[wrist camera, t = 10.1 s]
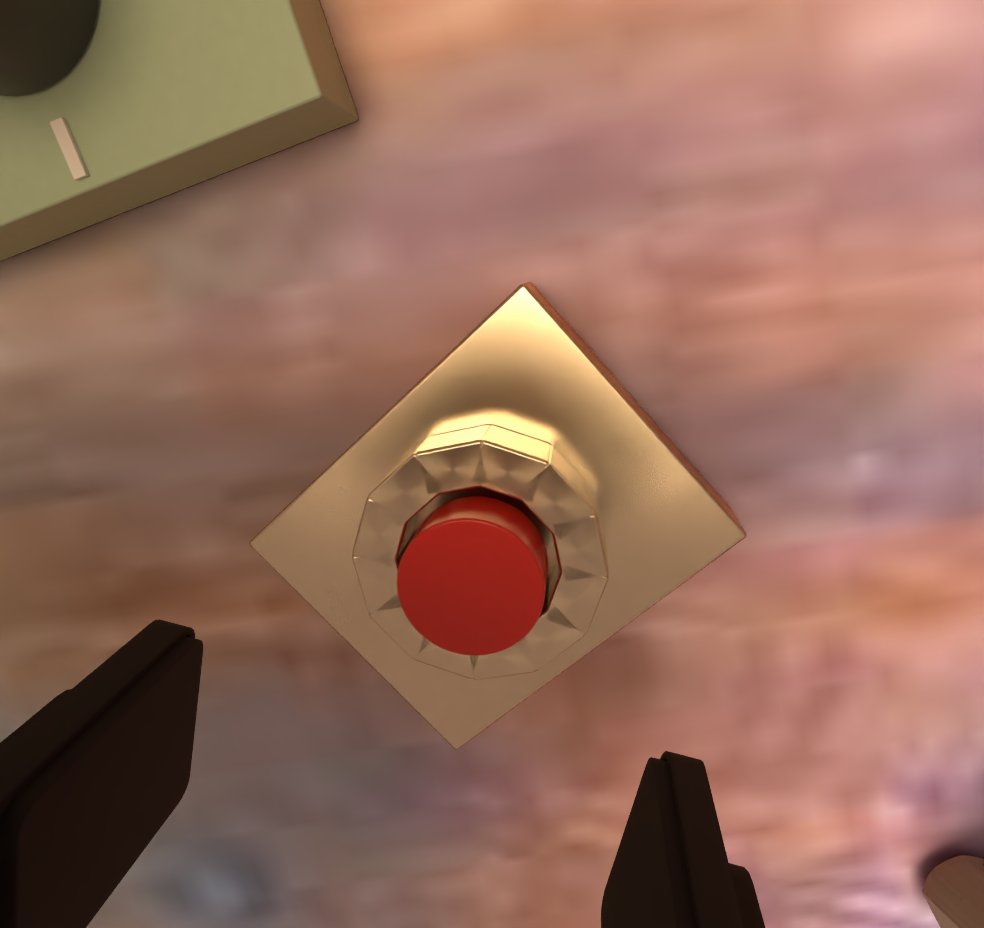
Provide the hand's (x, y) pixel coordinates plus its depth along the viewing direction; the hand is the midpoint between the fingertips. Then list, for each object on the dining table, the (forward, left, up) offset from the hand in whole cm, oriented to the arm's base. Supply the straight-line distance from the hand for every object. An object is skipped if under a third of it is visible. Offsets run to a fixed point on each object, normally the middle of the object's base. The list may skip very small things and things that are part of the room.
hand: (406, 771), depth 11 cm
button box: (0, 0, -12) cm, 12 cm away
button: (0, 0, -8) cm, 8 cm away
